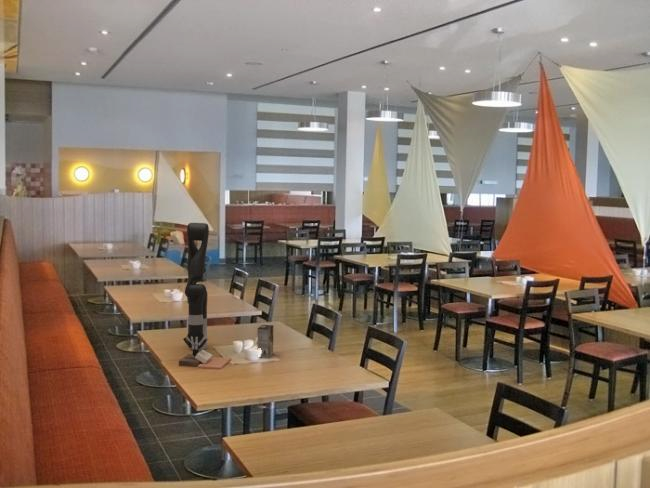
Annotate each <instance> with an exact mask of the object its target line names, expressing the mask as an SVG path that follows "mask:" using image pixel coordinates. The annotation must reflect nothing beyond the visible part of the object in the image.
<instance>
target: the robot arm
mask: <svg viewBox="0 0 650 488" xmlns="http://www.w3.org/2000/svg"><path fill="white" fill-rule="evenodd" d="M209 234H210V227H209V224H208V223H204V222H190V223H188V224H187V229H186V238H187V240H186V241H187V283H186V286H185V287H184V295H185V296H186V298H187V299H186V301H187V304H188V316H187V317H188V319H187V335H186V336H185V337H184V338H182V340H183V341H184V343H185V344H186V346H187V347H188V348H189V349H190V350H192V354H193V355H194V357H196V355H197V353H199V352H200V351H201V350H207V349H208V340H209V338H208V291H207V287H206V285H205V284H202V283H198V282H199V281H201V280H203V278H204V274H205V271H206V253H207V250H208V249H207V248H208V243H209V242H208V241H209ZM195 241H196V242H197V241H198V242H200V241H201V244H200V247H199V248H198V247H197V245H196V242H195Z"/></svg>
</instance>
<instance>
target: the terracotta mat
mask: <svg viewBox="0 0 650 488" xmlns="http://www.w3.org/2000/svg"><path fill="white" fill-rule="evenodd" d="M230 360H231V361H232V358H231V357H216V356H212V358H211V359H210V360H209V361H208V362H207V363H205V364H204V363H201V364H200V365H198V367H197V369H205V370H206V369H208V370H209V369H210V370H222V369H223V368H224V367H225V366H227V365H228V364H229V363H230V362H231V361H230Z"/></svg>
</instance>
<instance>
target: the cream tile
mask: <svg viewBox="0 0 650 488" xmlns="http://www.w3.org/2000/svg"><path fill="white" fill-rule="evenodd" d="M212 357H214V356H213V354H211V353H209V352H208V351H206V349H203V350H199V353H197V355H196V357H195V358H196V359H197V360H199V361H201V362H202V363H204V364H205V363H207V362H208V361H209V360H210V359H211V358H212Z"/></svg>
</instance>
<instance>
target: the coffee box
mask: <svg viewBox="0 0 650 488" xmlns="http://www.w3.org/2000/svg"><path fill="white" fill-rule="evenodd" d="M258 348H261V350H262V354H261V357H262V359H270V357H272V356H273V355H274V325H272V324H262V325H260V326H259V327H257V349H258Z"/></svg>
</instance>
